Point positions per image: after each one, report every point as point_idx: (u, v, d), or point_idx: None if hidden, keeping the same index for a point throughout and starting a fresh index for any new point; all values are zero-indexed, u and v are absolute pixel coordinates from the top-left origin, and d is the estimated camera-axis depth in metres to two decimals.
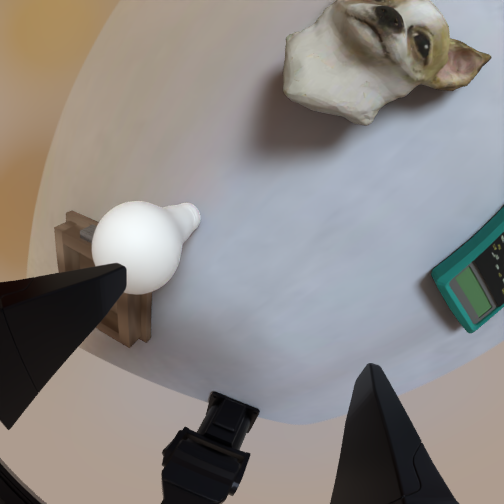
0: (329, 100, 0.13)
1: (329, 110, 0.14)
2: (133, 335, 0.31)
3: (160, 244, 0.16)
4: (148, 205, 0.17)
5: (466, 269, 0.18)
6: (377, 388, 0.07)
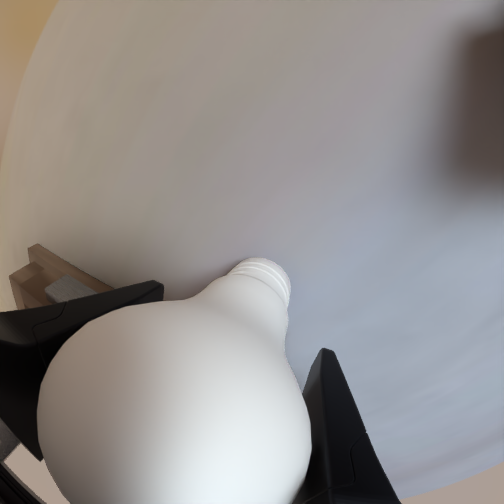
0: None
1: None
2: None
3: (284, 492, 0.04)
4: (213, 347, 0.04)
5: None
6: (324, 372, 0.07)
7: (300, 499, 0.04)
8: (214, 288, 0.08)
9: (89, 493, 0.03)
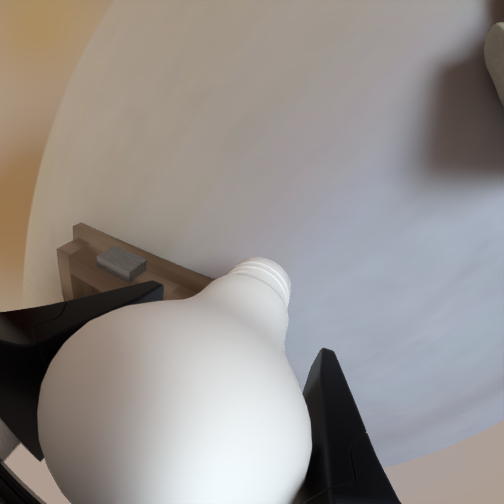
0: None
1: None
2: None
3: (285, 491, 0.04)
4: (214, 346, 0.04)
5: None
6: (324, 372, 0.07)
7: (300, 499, 0.04)
8: (214, 287, 0.08)
9: (90, 492, 0.03)
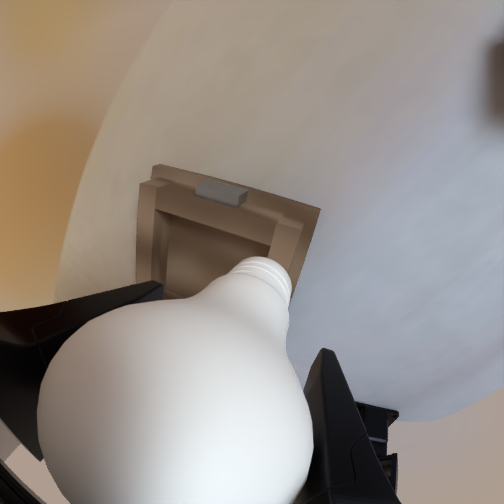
0: None
1: None
2: None
3: (287, 491, 0.04)
4: (215, 346, 0.04)
5: None
6: (324, 372, 0.07)
7: (300, 499, 0.04)
8: (215, 287, 0.08)
9: (90, 493, 0.03)
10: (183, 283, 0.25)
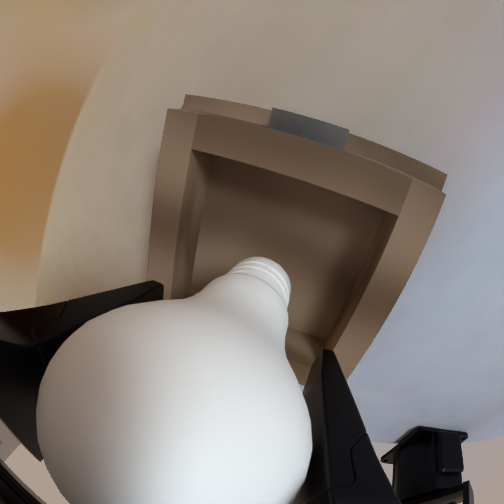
0: None
1: None
2: None
3: (285, 491, 0.04)
4: (213, 346, 0.04)
5: None
6: (324, 372, 0.07)
7: (300, 499, 0.04)
8: (214, 287, 0.08)
9: (88, 493, 0.03)
10: None
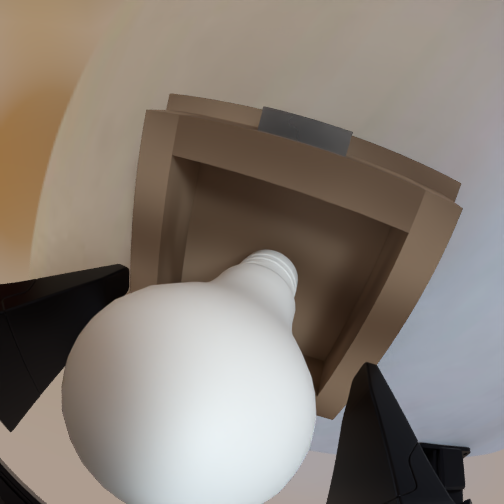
0: None
1: None
2: None
3: (291, 452, 0.04)
4: (231, 316, 0.05)
5: None
6: (373, 387, 0.07)
7: None
8: (227, 275, 0.09)
9: (113, 450, 0.03)
10: None
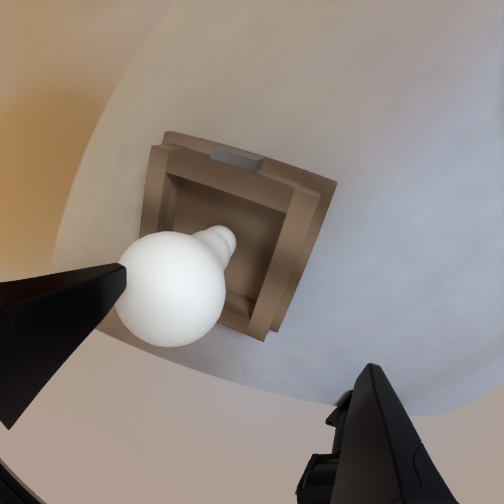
0: None
1: None
2: None
3: (206, 293, 0.13)
4: (186, 240, 0.14)
5: None
6: (377, 388, 0.07)
7: None
8: (192, 234, 0.18)
9: (139, 283, 0.12)
10: None
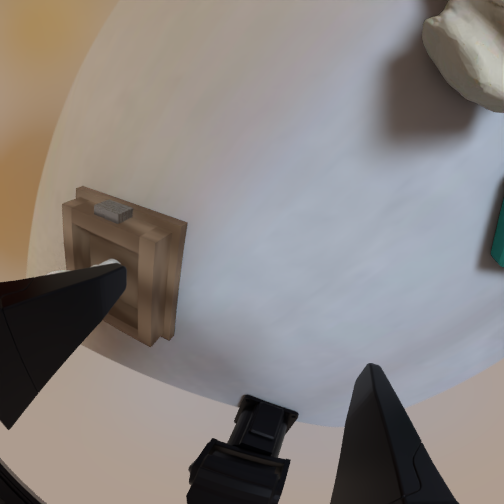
0: None
1: (501, 100, 0.09)
2: (155, 332, 0.26)
3: None
4: None
5: None
6: (377, 388, 0.07)
7: None
8: None
9: None
10: None
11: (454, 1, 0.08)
